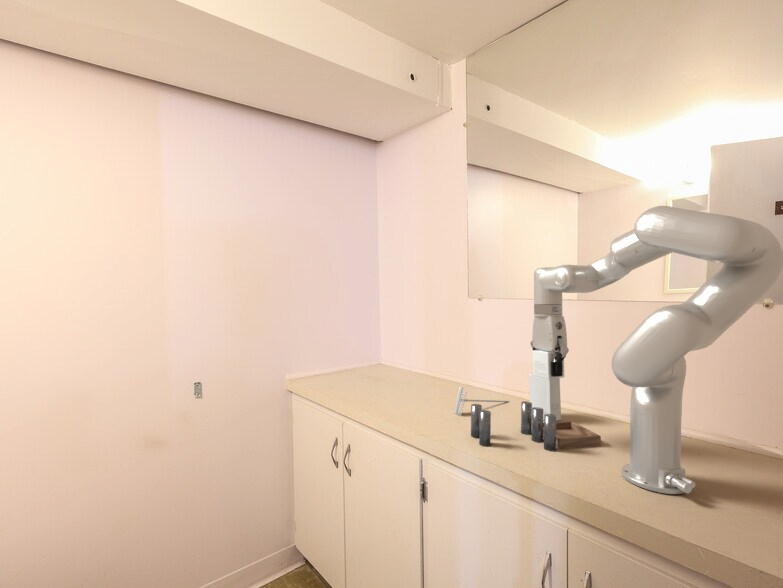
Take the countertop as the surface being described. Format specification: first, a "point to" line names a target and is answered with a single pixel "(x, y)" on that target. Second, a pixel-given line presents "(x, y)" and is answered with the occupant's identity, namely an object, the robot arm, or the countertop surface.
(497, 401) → the brush
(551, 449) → the posts
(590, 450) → the countertop surface
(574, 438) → the walnut tray
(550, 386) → the skincare box
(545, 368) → the skincare box
